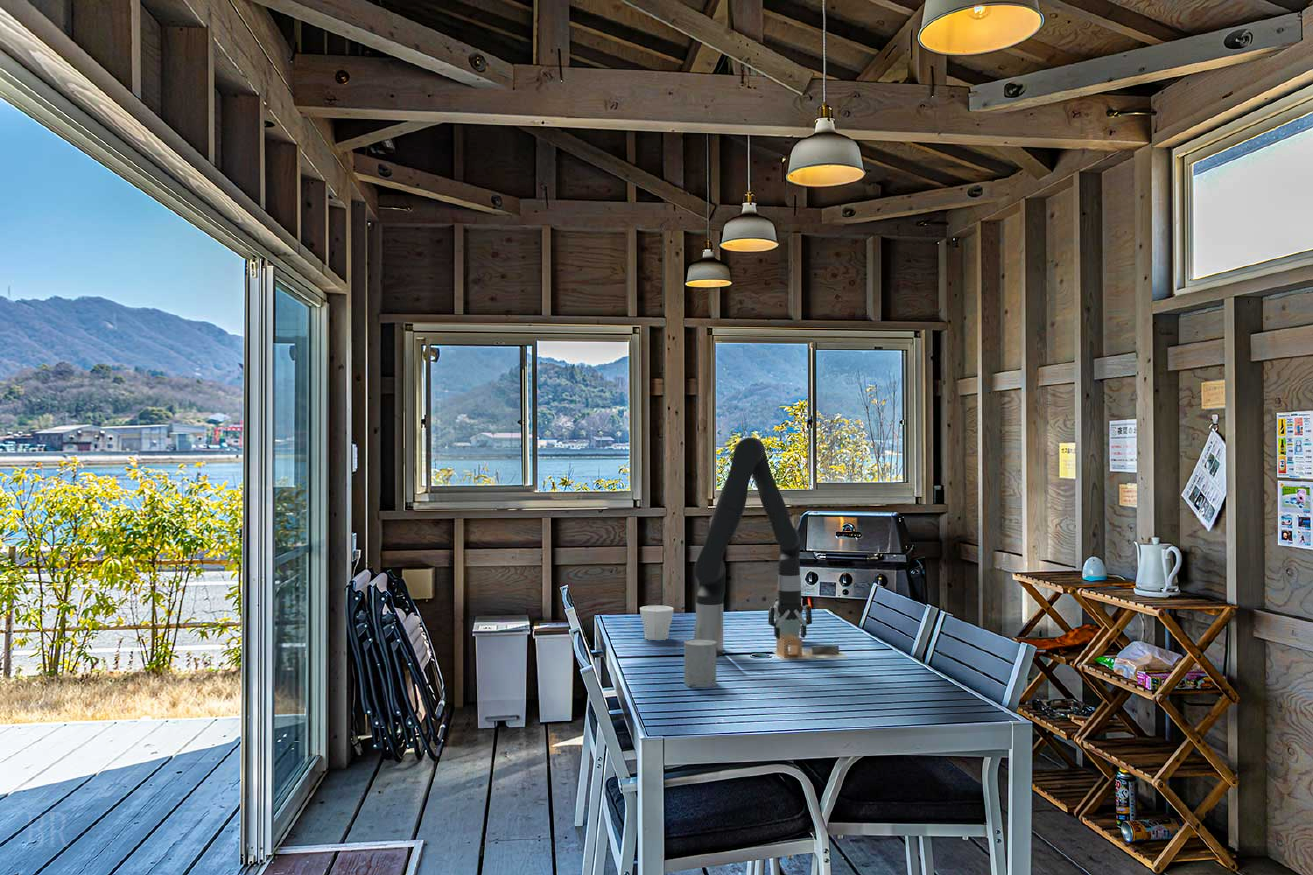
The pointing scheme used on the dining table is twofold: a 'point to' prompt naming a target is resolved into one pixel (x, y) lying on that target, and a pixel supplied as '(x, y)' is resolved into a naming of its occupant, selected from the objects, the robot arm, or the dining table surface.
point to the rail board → (816, 653)
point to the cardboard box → (794, 644)
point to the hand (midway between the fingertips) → (790, 637)
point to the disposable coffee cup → (788, 624)
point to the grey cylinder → (700, 662)
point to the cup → (656, 621)
